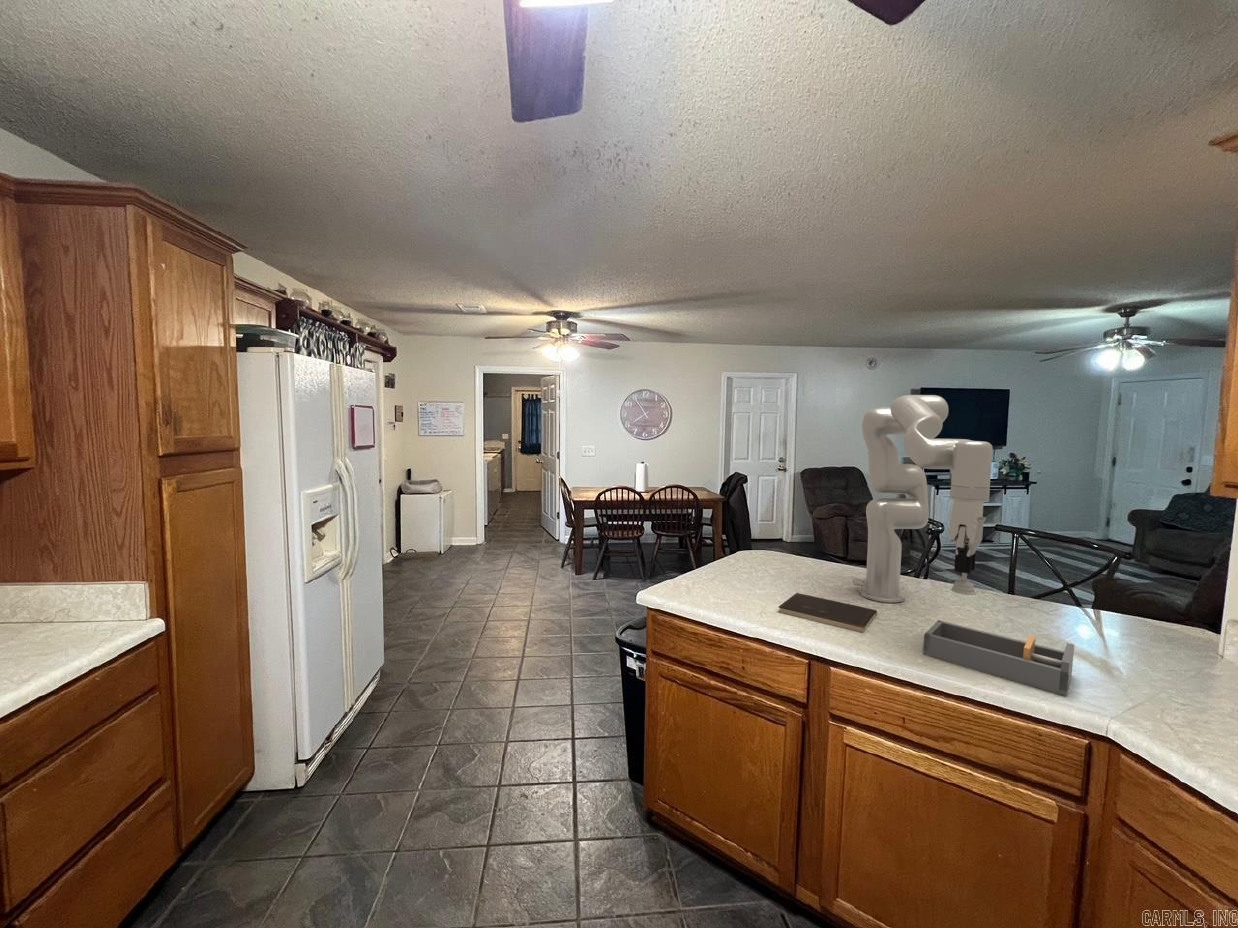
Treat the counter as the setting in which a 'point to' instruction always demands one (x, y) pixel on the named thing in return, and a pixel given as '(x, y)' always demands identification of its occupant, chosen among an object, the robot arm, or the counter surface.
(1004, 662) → the tray
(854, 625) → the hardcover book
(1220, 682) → the counter surface
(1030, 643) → the pusher
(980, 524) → the chalice
